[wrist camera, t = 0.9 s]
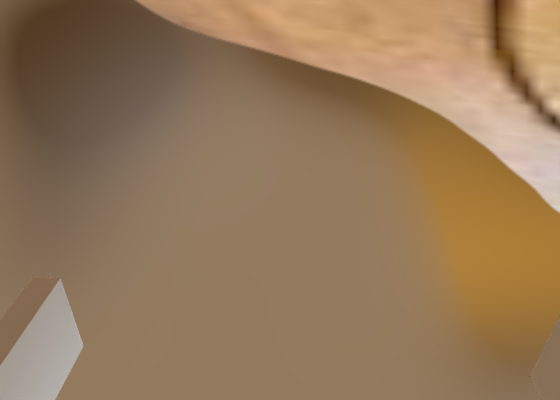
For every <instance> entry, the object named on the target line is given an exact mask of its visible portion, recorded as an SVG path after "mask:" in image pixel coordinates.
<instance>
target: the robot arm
mask: <svg viewBox="0 0 560 400" xmlns="http://www.w3.org/2000/svg"><path fill="white" fill-rule="evenodd" d="M82 348H83V344H82V340H81V338H80V335H79V332H78V329H77V326H76V323H75V320H74V317H73V314H72V311H71V308H70V305H69V302H68V299H67V296H66V293H65V291H64V287H63V285H62V281H61V278H49V277H32V279H31V280H30V281H29V283H28V284H27V285H26V286H25V288H24V289H23V291H22V292H21V293H20V295H19V296H18V297H17V298H16V300H15V301H14V302H13V304H12V305H11V306H10V307H9V309H8V310H7V311H6V313H5V314H4V315H3V317H2V318H1V320H0V400H55V398H56V397H57V395H58V393H59V391H60V389H61V387H62V385H63V383H64V381H65V379H66V378H67V376H68V374H69V372H70V370H71V368H72V366H73V365H74V363H75V361H76V359H77V357H78V355H79V353H80V351H81V349H82ZM530 377H531V380H532V382H533V384H534V386H535V389H536V391H537V393H538V396H539V398H540V400H560V316H559V318H558V320H557V322H556V324H555V326H554V328H553V330H552V332H551V334H550V336H549V338H548V341H547V343H546V345H545V347H544V349H543V351H542V353H541V355H540V357H539V359H538V361H537V363H536V365H535V368H534V370H533V372H532V374H531V376H530Z"/></svg>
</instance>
